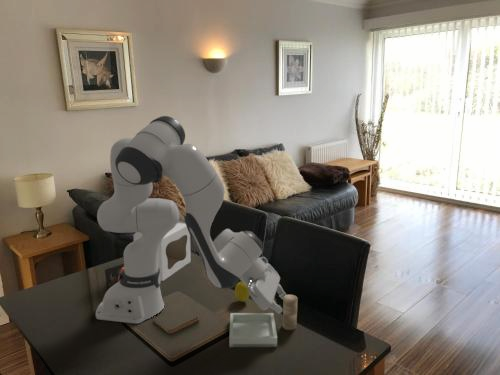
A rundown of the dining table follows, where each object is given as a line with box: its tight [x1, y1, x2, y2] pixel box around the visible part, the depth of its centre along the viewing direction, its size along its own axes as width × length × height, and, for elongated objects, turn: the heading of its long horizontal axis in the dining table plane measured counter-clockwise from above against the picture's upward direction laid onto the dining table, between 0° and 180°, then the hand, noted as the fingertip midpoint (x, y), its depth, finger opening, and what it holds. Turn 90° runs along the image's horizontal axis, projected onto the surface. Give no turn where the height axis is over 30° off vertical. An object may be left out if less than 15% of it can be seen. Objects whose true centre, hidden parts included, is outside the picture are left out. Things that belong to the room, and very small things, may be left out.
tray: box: [228, 312, 278, 348], centre depth 126 cm, size 14×14×3 cm
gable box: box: [133, 208, 192, 282], centre depth 170 cm, size 22×13×28 cm, turn 157°
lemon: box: [234, 280, 251, 303], centre depth 145 cm, size 6×6×8 cm
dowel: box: [282, 294, 299, 331], centre depth 130 cm, size 4×4×10 cm
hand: (283, 304), depth 129 cm, fingers open, 8 cm apart
